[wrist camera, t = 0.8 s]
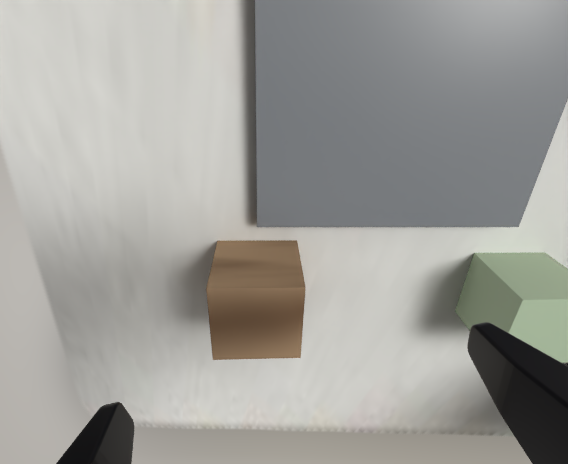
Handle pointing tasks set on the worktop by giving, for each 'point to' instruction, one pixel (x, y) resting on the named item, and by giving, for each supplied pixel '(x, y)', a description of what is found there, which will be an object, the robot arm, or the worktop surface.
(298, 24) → the baseplate
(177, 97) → the worktop surface
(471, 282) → the sage brick
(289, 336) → the brown wooden cube
